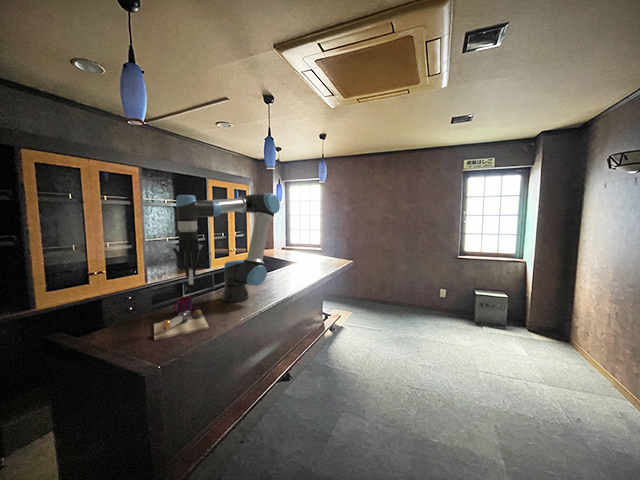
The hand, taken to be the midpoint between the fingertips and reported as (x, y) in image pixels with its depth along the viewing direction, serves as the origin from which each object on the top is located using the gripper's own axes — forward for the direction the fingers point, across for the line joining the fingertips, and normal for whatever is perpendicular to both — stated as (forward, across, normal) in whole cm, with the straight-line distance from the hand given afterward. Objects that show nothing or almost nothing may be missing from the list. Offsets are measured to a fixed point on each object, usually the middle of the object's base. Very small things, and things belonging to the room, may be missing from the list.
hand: (191, 283), depth 113 cm
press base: (+19, +5, 0) cm, 20 cm away
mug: (+20, +3, -19) cm, 28 cm away
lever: (+17, +6, -1) cm, 18 cm away
